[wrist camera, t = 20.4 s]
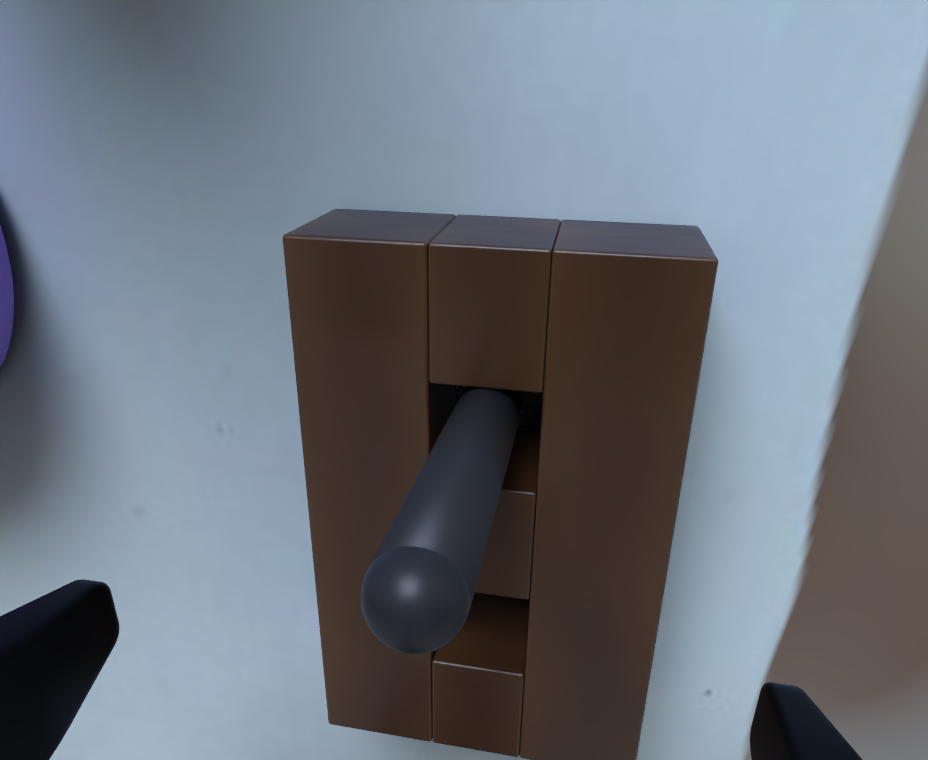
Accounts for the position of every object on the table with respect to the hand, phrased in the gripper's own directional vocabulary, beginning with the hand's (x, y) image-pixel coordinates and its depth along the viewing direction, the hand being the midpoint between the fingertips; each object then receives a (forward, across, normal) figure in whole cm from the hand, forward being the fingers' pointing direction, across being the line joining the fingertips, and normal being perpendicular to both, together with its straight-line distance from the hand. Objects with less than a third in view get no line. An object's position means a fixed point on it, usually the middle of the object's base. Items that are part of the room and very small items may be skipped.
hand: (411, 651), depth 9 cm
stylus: (+9, 0, 0) cm, 9 cm away
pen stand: (+9, 0, +3) cm, 10 cm away
